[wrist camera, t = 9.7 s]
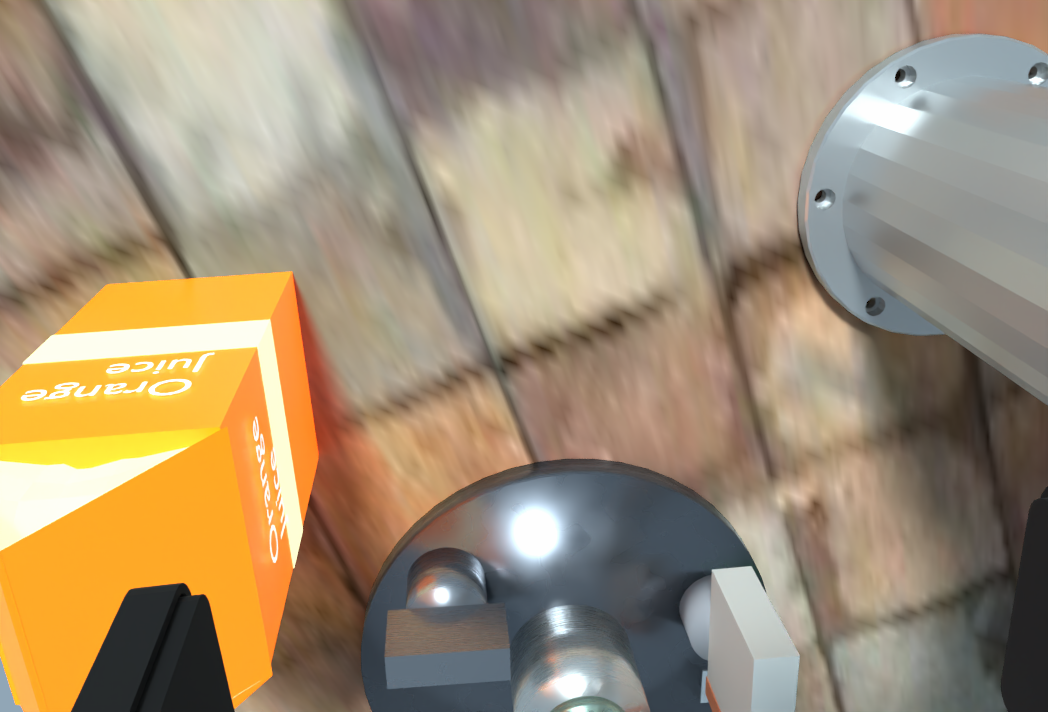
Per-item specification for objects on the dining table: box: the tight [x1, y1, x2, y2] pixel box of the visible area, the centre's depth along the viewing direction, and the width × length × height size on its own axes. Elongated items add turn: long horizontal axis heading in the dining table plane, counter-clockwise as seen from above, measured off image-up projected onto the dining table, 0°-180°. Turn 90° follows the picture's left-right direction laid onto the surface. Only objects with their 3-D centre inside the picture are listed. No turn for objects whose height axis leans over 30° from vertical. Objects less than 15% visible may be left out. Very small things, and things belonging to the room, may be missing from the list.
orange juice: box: [0, 272, 319, 712], centre depth 31 cm, size 8×9×20 cm
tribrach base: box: [361, 459, 766, 712], centre depth 44 cm, size 20×20×8 cm
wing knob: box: [679, 566, 800, 712], centre depth 42 cm, size 7×4×8 cm, turn 2°
